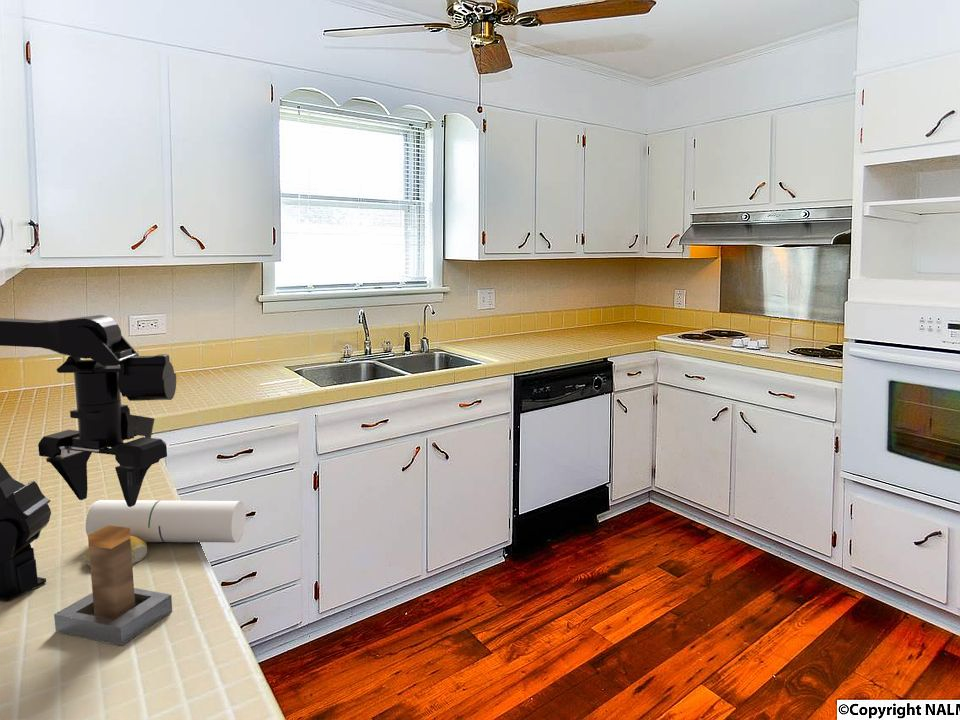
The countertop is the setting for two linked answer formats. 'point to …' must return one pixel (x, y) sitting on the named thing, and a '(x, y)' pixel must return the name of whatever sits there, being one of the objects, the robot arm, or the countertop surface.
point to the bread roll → (136, 550)
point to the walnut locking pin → (111, 571)
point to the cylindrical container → (171, 520)
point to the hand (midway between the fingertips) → (107, 502)
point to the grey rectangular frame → (120, 630)
